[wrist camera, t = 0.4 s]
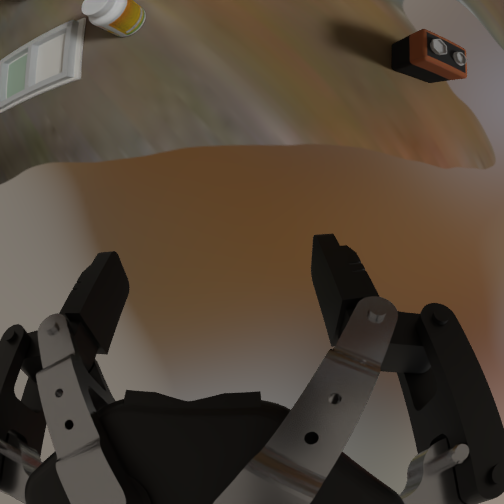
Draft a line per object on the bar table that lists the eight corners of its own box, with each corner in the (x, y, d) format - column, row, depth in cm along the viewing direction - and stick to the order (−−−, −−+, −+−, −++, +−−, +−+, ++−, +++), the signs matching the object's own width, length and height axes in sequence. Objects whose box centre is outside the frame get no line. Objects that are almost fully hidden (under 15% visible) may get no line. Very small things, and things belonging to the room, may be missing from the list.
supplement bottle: (149, 4, 24) (120, -22, 16) (143, 34, 27) (110, 14, 18) (116, 10, 24) (82, -10, 16) (110, 40, 27) (72, 25, 18)
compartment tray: (5, 60, 25) (-3, 60, 23) (86, 18, 24) (78, 14, 22) (2, 112, 30) (-7, 113, 27) (80, 78, 29) (71, 77, 27)
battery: (390, 43, 26) (426, 24, 17) (430, 58, 26) (471, 48, 17) (390, 70, 28) (427, 57, 19) (430, 84, 28) (472, 79, 19)
